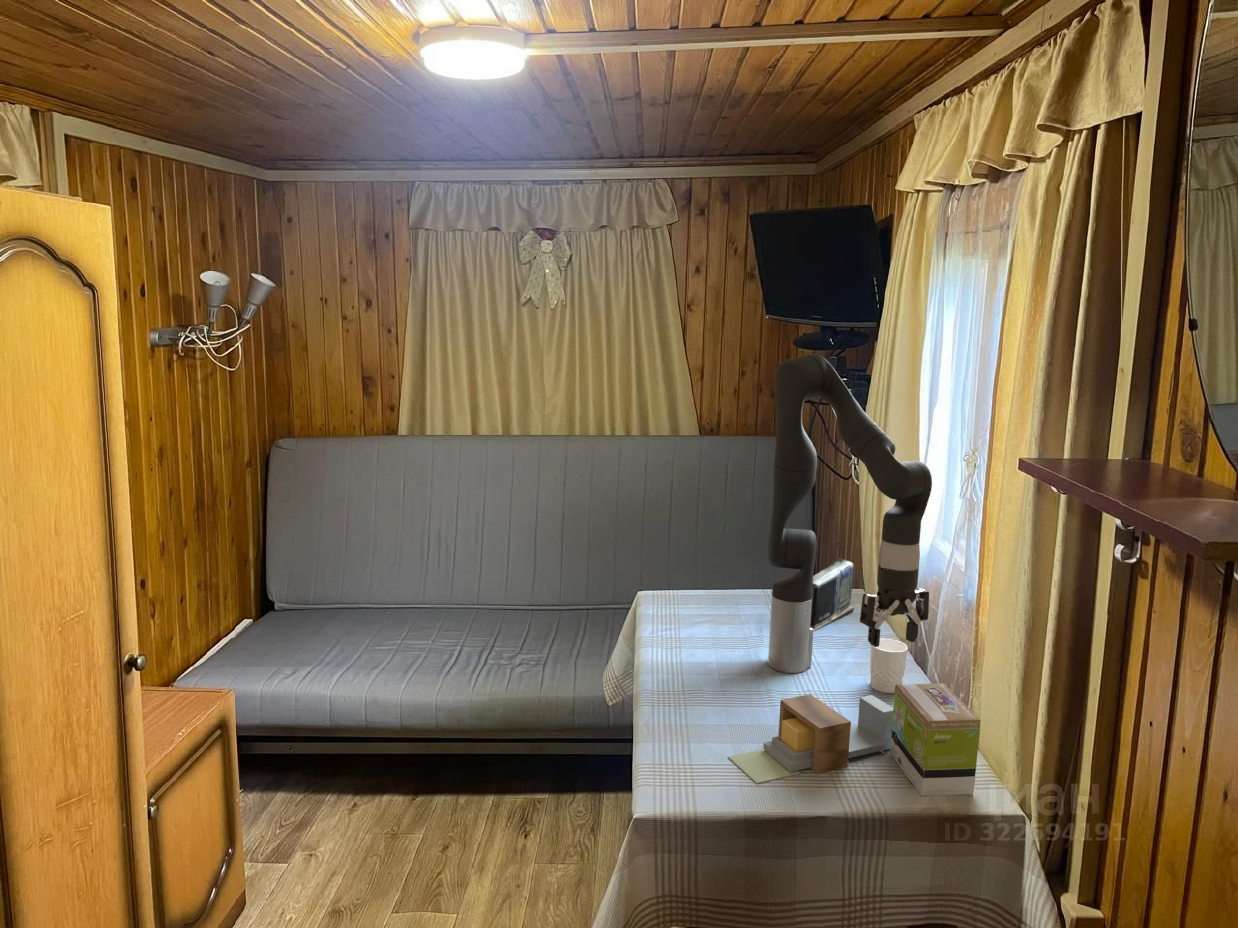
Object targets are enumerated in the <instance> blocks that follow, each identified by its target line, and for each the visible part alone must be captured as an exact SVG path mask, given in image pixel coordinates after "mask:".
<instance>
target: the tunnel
mask: <svg viewBox="0 0 1238 928" xmlns="http://www.w3.org/2000/svg"><path fill="white" fill-rule="evenodd" d="M779 703H780V706H779V719H778V720H779V722H778V736H781V733H782V721H783V720H788V719H793V718H797V717H798V718H799V719H800V720H802V721H803V722H804V723H806V724H807V725H809V726H810V727H811V728H813V729H814V730H815V743H814V758H813V767H812V772H813V773H814V774H815V775H817V774H818V775H819V774H823V773H827V772H832V771H836V770H840V769H844V768H848V767H849V766H848V765H849V761H848V755H849V742H850V728H851V724H852V721H851V720H849V719H848V718H846V717H845V716H843V715H842V714H841V713H839V712H838V711H836V710H834V709H833V708H832V707H830V706H829V705H827V704H826V703H825V702H823V701H821V700H820V699H818V698H817V697H816V696H814V695H812V694H805V695H799V696H794V697H789V698H784V699H780V702H779Z"/></svg>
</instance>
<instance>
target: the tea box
mask: <svg viewBox="0 0 1238 928" xmlns="http://www.w3.org/2000/svg"><path fill="white" fill-rule="evenodd" d="M893 694H894V696H893V707H892V708H893V722H892V737H891V749H889V750H890V752H889V753H890V755H891V756H892V757H893V759H894V760H895V762H896V763H897V765H898V766H899V767H900V768H901V770H902V771H903V772H904V774H905V775H906V777H907V779H909V781H910V782H911V783H912V785H913V787H914V788H915V789H916V790H917V792H918V794H919V795H920V796H921V797H940V796H941V797H942V796H944V797H946V796H963V795H964V796H966V795H967V796H968V795H974V794H975V793H974V792H975V783H976V772H977V763H978V752H979V750H978V749H979V742H980V733H981V721H982V720H981V719H980V717H979V716H977V714H975V713H974V712H973V711H972V710H971V709H970V708H969V707H968V706H967V705H966V704H965V703H964V702H963V701H962V700H961V699H960V698H959V697H958V696H957V695H956V694H955V693H954V692H953V691H952V690H951V688H949V686H947V685H946V684H945V683H944V682H942V683H940V682H939V683H938V682H937V683H912V684H910V683H908V684H907V683H906V684H905V683H904V684H903V683H902V685H897V684H896V685H895V693H893Z"/></svg>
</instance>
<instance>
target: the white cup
mask: <svg viewBox="0 0 1238 928" xmlns="http://www.w3.org/2000/svg"><path fill="white" fill-rule="evenodd" d="M908 648H909V647H908V645H907V644H906V643H904V642H902V641H899V640H896V639H892V638H880V642H879V646H878V647H874V646H872V645H871V644H870V662H869V663H870V664H869V665H870V666H869V667H870V669H869V671H870V672H869V673H870V687H871V688H872V689H873V690H874V691H875V690H876V691H877V690H878V692H881V693H886V694H894V693H895V685H896V684H897V685H903V680H904V676H905V671H906V665H907V663H906V662H907V656H908V650H909V649H908Z"/></svg>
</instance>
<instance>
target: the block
mask: <svg viewBox="0 0 1238 928" xmlns="http://www.w3.org/2000/svg"><path fill="white" fill-rule="evenodd" d="M781 741H782V742H783V743H784V744H786V745H787V746H788V747H789V748H791V749H792V750H793V751H794V752H796V753H798V752H802V751H807V750H811V749H814V743H815V730H814V729H813V728H811V727H810V726H809V725H807V724H806V723H804V722H803V721H802V720H800V719H799V718H798V717H797V718H793V719H788V720H783V721H782V733H781Z"/></svg>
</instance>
